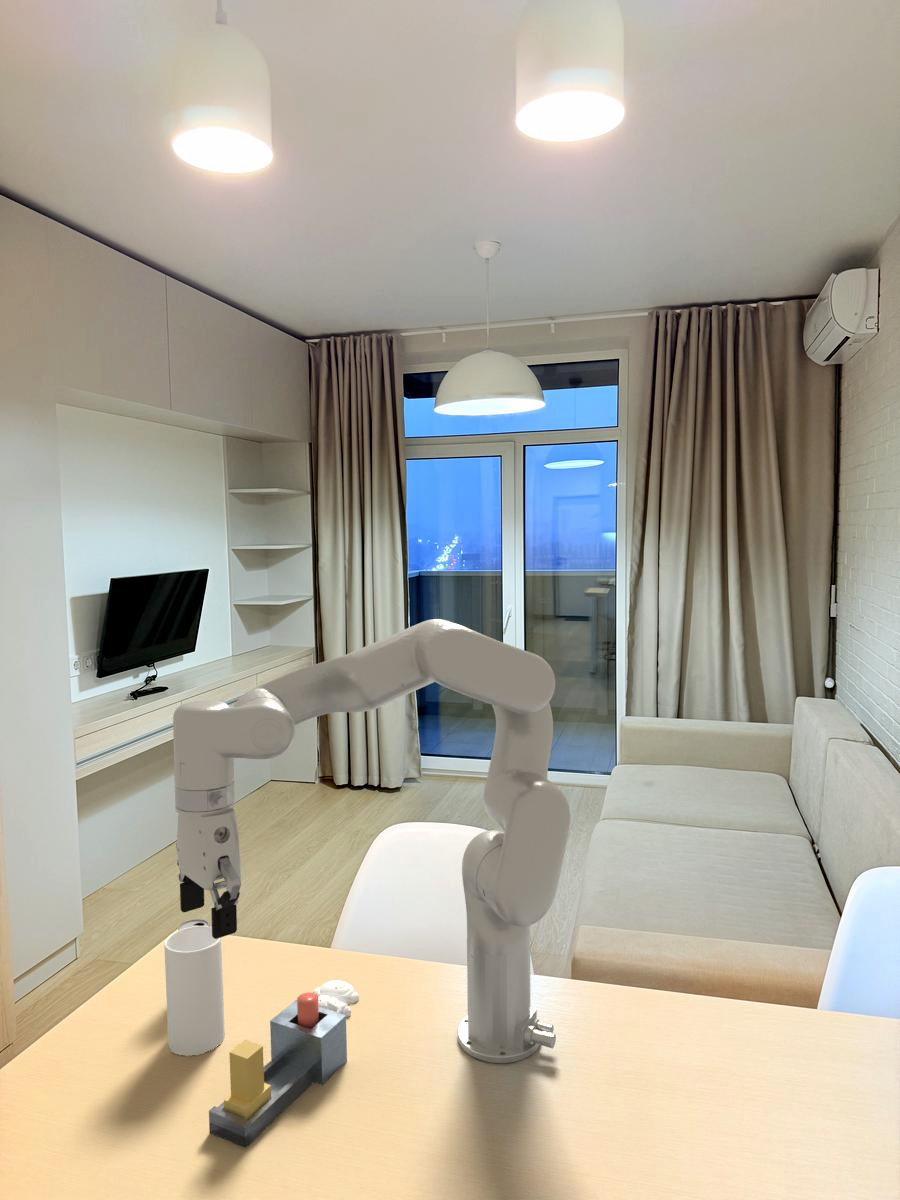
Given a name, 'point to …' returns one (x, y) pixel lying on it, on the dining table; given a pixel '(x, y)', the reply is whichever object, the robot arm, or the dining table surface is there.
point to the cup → (194, 990)
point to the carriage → (247, 1081)
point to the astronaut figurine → (336, 996)
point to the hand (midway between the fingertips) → (208, 921)
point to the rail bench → (288, 1070)
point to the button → (308, 1010)
